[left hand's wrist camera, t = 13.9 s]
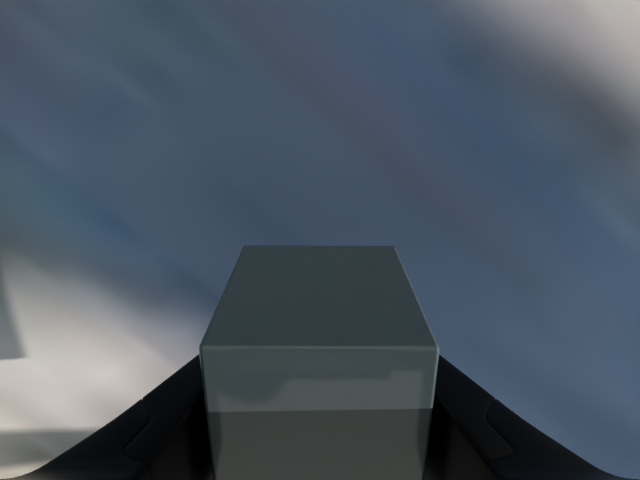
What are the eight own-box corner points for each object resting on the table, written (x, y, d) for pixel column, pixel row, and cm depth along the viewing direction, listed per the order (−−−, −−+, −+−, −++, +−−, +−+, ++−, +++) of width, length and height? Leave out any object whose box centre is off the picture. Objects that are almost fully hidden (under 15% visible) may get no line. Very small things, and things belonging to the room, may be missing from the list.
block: (395, 245, 12) (441, 348, 7) (385, 395, 14) (417, 551, 9) (243, 244, 12) (196, 347, 7) (253, 395, 14) (220, 551, 9)
